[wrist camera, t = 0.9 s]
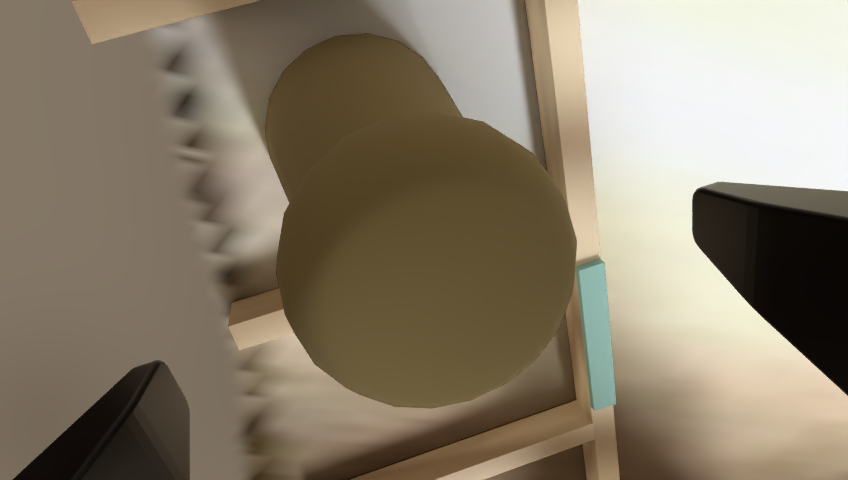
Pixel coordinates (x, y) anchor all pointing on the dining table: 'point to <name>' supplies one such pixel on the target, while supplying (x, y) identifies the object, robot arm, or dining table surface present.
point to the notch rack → (588, 308)
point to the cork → (410, 229)
